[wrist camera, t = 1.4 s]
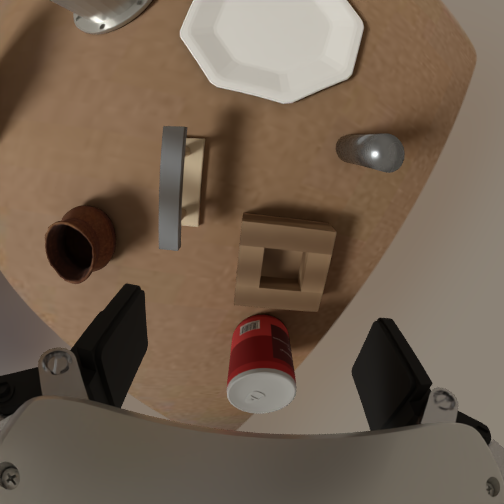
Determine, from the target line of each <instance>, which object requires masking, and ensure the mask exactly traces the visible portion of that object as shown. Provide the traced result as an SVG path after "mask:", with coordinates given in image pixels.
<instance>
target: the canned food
mask: <svg viewBox="0 0 504 504" xmlns="http://www.w3.org/2000/svg"><path fill="white" fill-rule="evenodd" d="M295 395H296V380H295V373H294V366H293V360H292V353H291V347H290V341H289V335H288V331H287V328H286V327H285V326H284V324H283V323H282V322H281V321H280V320H279V319H277V318H275V317H273V316H270V315H255V316H251V317H248V318H247V319H245V320H243V321H242V322H241V323H240V324H239V325H238V326H237V328H236V329H235V331H234V333H233V337H232V346H231V355H230V363H229V372H228V381H227V397H228V400H229V401H230V403H231V404H232V405H233V406H235V407H236V408H238V409H240V410H242V411H245V412H250V413H269V412H273V411H277V410H279V409H282V408H283V407H285V406H287V405H288V404H289V403H291V401H292V400H293V399H294V397H295Z"/></svg>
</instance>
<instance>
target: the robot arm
mask: <svg viewBox="0 0 504 504" xmlns="http://www.w3.org/2000/svg"><path fill="white" fill-rule="evenodd" d="M50 1H52V2H54V3H56V4H58V5H60V6H62V7H64V8H66V9H68V10H69V11H71V12H73V13H74V22H75V24H76V26H77V27H78V28H79V29H80V30H81V31H83V32H85V33H89V34H103V33H108V32H110V31H113V30H116V29H118V28H120V27H122V26H124V25H125V24H127V23H129V22H130V21H132V20H133V19H134V18H136V17H137V16H138V15H139V14H140V13H141V12H142V11H144V10H145V9H146V7H147V6H148V5H149V4H150V3H151V1H152V0H50ZM147 347H148V339H147V326H146V311H145V293H144V291H143V290H141V288H140V286H137V285H132V284H125V285H124V286H123V287H122V288H121V289H120V291H119V292H118V293H117V294H116V296H115V297H114V298H113V299H112V300H111V302H110V303H109V304H108V305H107V307H106V308H105V309H104V310H103V311H101V312H100V313H99V314H98V315H97V316H96V318H95V319H94V320H93V321H92V323H91V324H90V325H89V326H88V328H87V329H86V330H85V332H84V333H83V334H82V336H81V337H80V338H79V339H78V341H77V342H76V343H75V345H74V346H73V347H72V349H71V350H68V349H65V348H53V349H49V350H48V351H46V352H44V353H43V354H42V355H41V357H40V359H39V361H38V367H36V368H32V369H28V370H24V371H20V372H16V373H12V374H7V375H3V376H0V504H504V448H503V447H502V446H500V445H499V444H498V443H497V442H496V441H495V440H492V441H491V434H490V431H489V429H488V427H487V426H486V425H484V424H483V423H481V422H479V421H477V420H475V419H473V418H471V417H469V416H467V415H465V414H463V413H461V412H459V411H458V401H457V398H456V397H455V395H454V394H452V392H450V391H449V390H447V389H444V388H435V389H433V390H432V391H431V390H430V386H431V385H432V382H431V380H430V378H429V376H428V375H427V373H426V371H425V370H424V368H423V366H422V365H421V363H420V361H419V360H418V358H417V357H416V355H415V353H414V352H413V350H412V348H411V347H410V345H409V344H408V342H407V341H406V339H405V338H404V336H403V335H402V333H401V331H400V330H399V328H398V327H397V325H396V324H395V322H394V321H393V320H392V319H389V318H379V319H378V320H377V321H375V322H374V323H373V325H372V327H371V329H370V331H369V334H368V336H367V338H366V340H365V342H364V345H363V347H362V349H361V351H360V353H359V355H358V357H357V359H356V361H355V363H354V365H353V368H352V376H353V379H354V382H355V385H356V388H357V390H358V394H359V396H360V399H361V402H362V405H363V408H364V412H365V415H366V418H367V421H368V424H369V427H370V430H371V431H366V432H354V433H340V434H317V435H316V434H315V435H314V434H313V435H296V434H294V435H293V434H267V433H253V432H242V431H232V430H224V429H216V428H209V427H202V426H196V425H191V424H185V423H180V422H175V421H170V420H166V419H161V418H157V417H152V416H148V415H144V414H140V413H136V412H132V411H128V410H125V409H121V406H122V404H123V402H124V399H125V397H126V395H127V392H128V390H129V388H130V386H131V383H132V381H133V379H134V377H135V374H136V372H137V370H138V368H139V366H140V364H141V361H142V359H143V357H144V355H145V353H146V350H147Z"/></svg>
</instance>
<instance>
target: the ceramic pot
mask: <svg viewBox="0 0 504 504" xmlns="http://www.w3.org/2000/svg"><path fill="white" fill-rule="evenodd" d="M115 245H116V236H115V231H114V227H113V225H112V222H111V220H110V219H109V217H108V216H107V215H106V214H105V213H104V212H103V211H102V210H100V209H98V208H96V207H92V206H78V207H75V208H73V209H71V210H70V211H68V212H67V213H66V214H65V215H64V217H63V218H62V220H61V221H58V222H55V223H53V224H52V225H51V226H49V227H48V231H47V233H46V234H45V248H46V254H47V258H48V260H49V262H50V265H51V266H52V267H53V268H54V269H55V271H56V272H57V274H58V275H59V276H60V277H61V278H63V279H64V280H65V281H67V282H70V283H74V284H79V283H81V282H83V281H85V280H86V279H87V278H88V277H89V276H90V275H91V273H92V272H94V271H97V270H100V269H102V268H103V267H105V266H106V265H107V264H108V262H109V261H110V259H111V258H112V256H113V254H114V251H115Z"/></svg>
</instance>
